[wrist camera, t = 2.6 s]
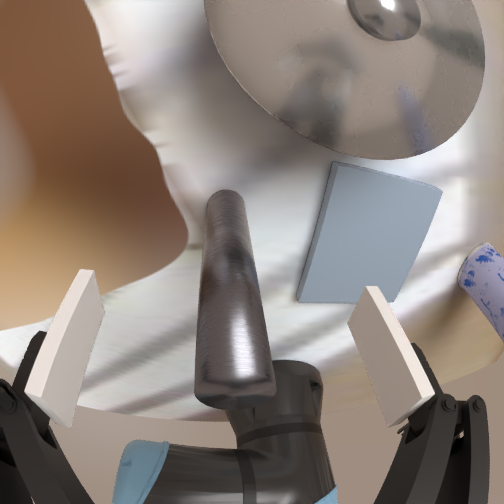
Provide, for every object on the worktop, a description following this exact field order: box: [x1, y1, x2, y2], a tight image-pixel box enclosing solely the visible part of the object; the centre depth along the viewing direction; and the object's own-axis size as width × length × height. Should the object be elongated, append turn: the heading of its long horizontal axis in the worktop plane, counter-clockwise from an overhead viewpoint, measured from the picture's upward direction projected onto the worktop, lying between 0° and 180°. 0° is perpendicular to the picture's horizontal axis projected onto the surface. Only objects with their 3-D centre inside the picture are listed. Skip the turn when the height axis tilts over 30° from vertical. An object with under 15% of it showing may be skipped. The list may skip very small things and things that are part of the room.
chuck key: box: [194, 190, 277, 410], centre depth 16 cm, size 3×3×16 cm
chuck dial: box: [204, 0, 485, 160], centre depth 9 cm, size 18×18×4 cm
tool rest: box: [296, 161, 443, 303], centre depth 25 cm, size 14×12×1 cm
